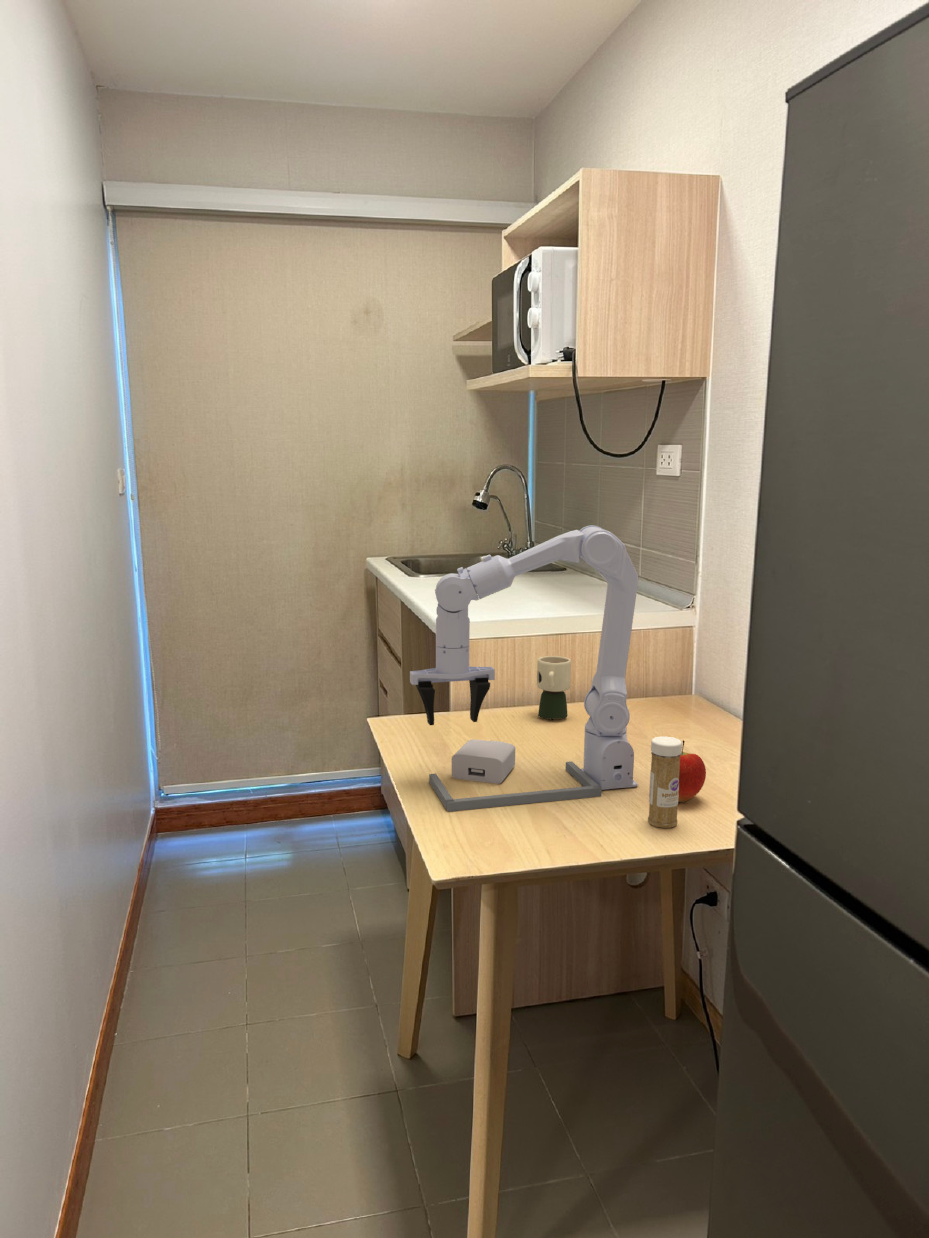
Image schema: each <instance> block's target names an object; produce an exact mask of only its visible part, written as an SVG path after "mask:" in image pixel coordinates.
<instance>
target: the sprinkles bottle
mask: <svg viewBox="0 0 929 1238" xmlns="http://www.w3.org/2000/svg"><path fill="white" fill-rule="evenodd" d="M682 747H683V741H681V740H680V739H679V738H676V737H673V736H666V735H665V736H656V737H653V738H652V739H651V745H650V752H651V764H650V773H649V774H650V775H649V776H650V777H649V795H648V803H649V806H648V808H649V809H648V817H647V821H648V823H649V824H650V825H652V826H653V827H656V828H661V829H663V828H664V829H668V828H674V827H675V826H676V825H677V824H678V805H679V802H678V797H679V769H680V768H679V767H680V754H681V752H682Z"/></svg>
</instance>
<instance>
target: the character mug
mask: <svg viewBox="0 0 929 1238" xmlns="http://www.w3.org/2000/svg"><path fill="white" fill-rule="evenodd" d="M536 664H537V666H536V667H537V670H536V671H537V672H536V686H537V688H538V689H540V690H542V693H541V695H540V700H539V707H538V713H537V716H538V717H539V718H542V719H544V720H546V719H550V720H551V721H554V719H566V718H567V717H568V704H567V694H566V693H565V691H568V690H569V689H571V675H572V674H571V668H572V660H571V658H569V657H566V656H560V655H545V656H540V657H538V658H537V663H536Z"/></svg>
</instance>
